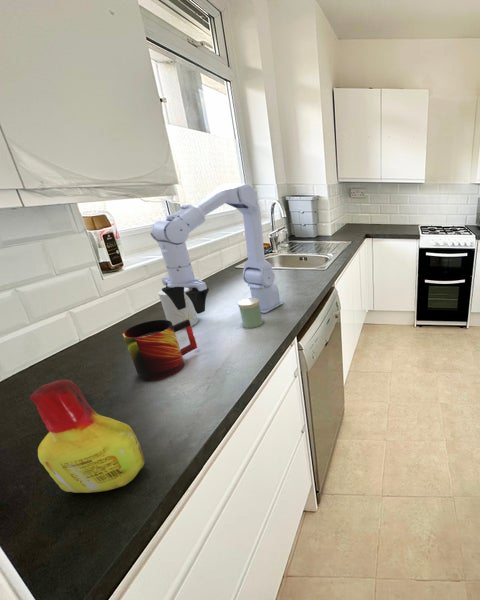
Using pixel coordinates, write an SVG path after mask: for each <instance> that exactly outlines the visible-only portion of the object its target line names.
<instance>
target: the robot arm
mask: <svg viewBox="0 0 480 600" xmlns="http://www.w3.org/2000/svg"><path fill="white" fill-rule="evenodd" d="M224 204H226V205H228V206H231V207H232V208H235V209H236V210H238V212H240V213H241V214H242V217H243V218H242V219H243V228H244V236H245V245H246V254H247V255H246V256H247V260H246V261H245V262H244V263H243V270H242V279H243V282H244V283H246V284H247V287H249V290H250V296H251V297H250V298H257V299H259V303H260V304H259V305H260V311H261V314H267V313H268V312H271V311H272V310H274V309H277V308H278V307H279V306H281V305H283V302H281V297H280V292H279V287H278V285H277V284H276V283H275V272H274V270H273V266H272V264H271V263H270V262H269V261H268V260H266V259H265V258H266V257H265V247H264V235H263V226H262V225H263V224H262V215H261V206H260V204H259V199H258V191H257V190H256V189H254V187H253V186H252V185H251V184H248V183H227V182H226V183H222V184H221V185H220V186H217V187H215V190H213V191H212V192H210V193H209V194H208V195H207V196H206V197H204V198H203V199H202V200H201V201H199V202H198V203H197V204H196V205H194V204H182V205H181V206H179V207H180V209H179V210H177V211H176V212H174V213H173V214H168V215H166V219H165V220H156V222H154V223H153V225H152V227H151V231H150V232H149V234H150V236H151V238H152V239H153V240H154V241H156V243H157V244H158V248H159V249H160V252H161V255H162V258H163V261H164V266H165V268H166V272H167V275H168V276H166V277H163V278H161V282H162V286H165V287H162V288H161V290H162V291H163V292H164V293H165V294H166V295H167V296H168V297H169V298H170V299H171V300H172V302H173V303H174V305H175V306H176V308H177V309H178V310H181V309H183V308H186V303H185V297H184V287H185V288H189V289H191V290H189V291H188V292H185V294H186V295H187V296H188V297H189V298H190V300H191V301H192V303H193V306H194V309H195V313H196V315H197V314H198V315H199V314H202V313H204V312H205V311H206V301H207V297H208V293H209V291H210V289H209V287H208V286H207V283H206V282H205V281H202V280H199V279H197V278H196V277H195V274H194V270H193V266H192V263H191V259H190V256H189V252H188V248H187V244H186V242H187V240H188V238H189V234H190V233H192V232H193V231H194V230H195V229H197V228H198V227H200V226H201V225H202V224H204V223H205V221H206V216H207V215H208V214H210V213H211V212H214V211H215V210H217V209H218V208H220V207H221V206H224Z"/></svg>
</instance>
